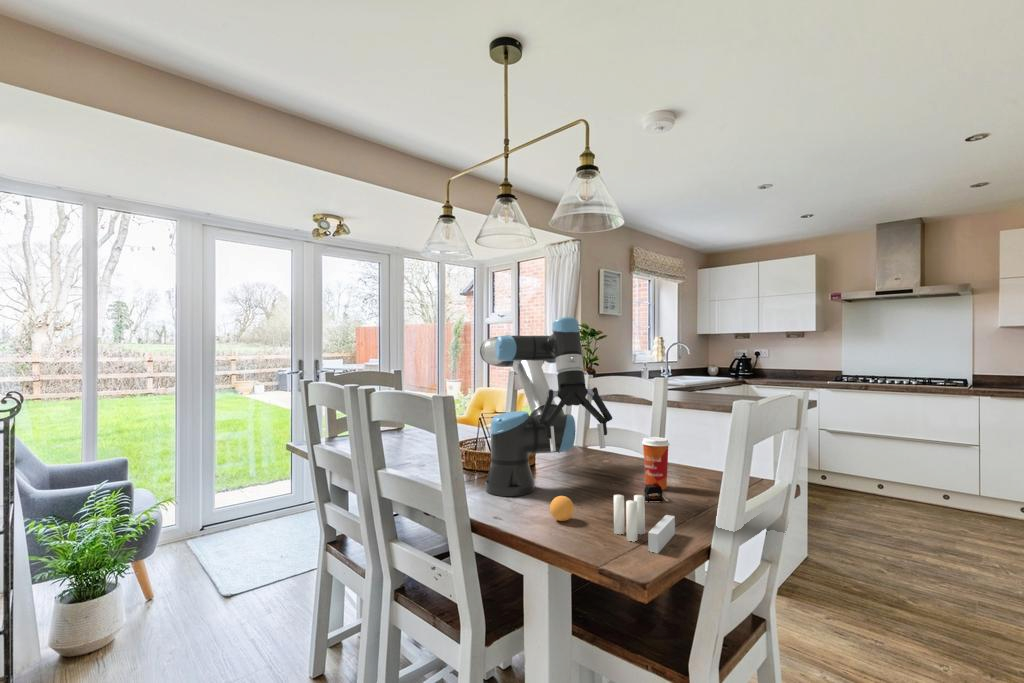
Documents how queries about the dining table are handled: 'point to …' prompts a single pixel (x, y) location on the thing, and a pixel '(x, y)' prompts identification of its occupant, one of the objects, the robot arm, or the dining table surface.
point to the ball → (562, 508)
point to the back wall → (661, 533)
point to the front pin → (619, 514)
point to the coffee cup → (656, 460)
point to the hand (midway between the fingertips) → (578, 449)
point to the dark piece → (653, 489)
